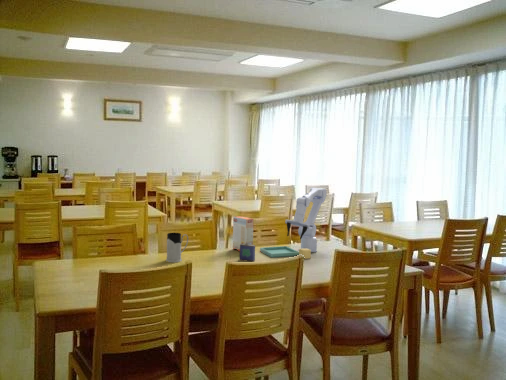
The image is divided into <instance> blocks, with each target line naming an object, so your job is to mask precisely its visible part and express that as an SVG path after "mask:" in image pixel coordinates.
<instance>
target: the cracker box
mask: <svg viewBox="0 0 506 380" xmlns="http://www.w3.org/2000/svg"><path fill="white" fill-rule="evenodd" d="M232 220H233V222H232V223H233V227H232V230H233V231H232V233H233V234H232V250H234V249H237V250H238V251H237V250H236V251H237V252H240V244H243V243H245V244H246V242H249V244H248V245H254V218H251V217H247V216H242V215H241V216H240V215H239V216H233V219H232Z"/></svg>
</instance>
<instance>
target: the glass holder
mask: <svg viewBox="0 0 506 380" xmlns="http://www.w3.org/2000/svg"><path fill="white" fill-rule="evenodd" d="M185 236H186V243H185V246H184V247H183V248H182V243H183V238H184V237H185ZM188 243H189V236H188V234H183V235H182V234H181V233H180V232H169V233H167V235H166V259H165V261H166V262H167V261H168V262H167V263H180V262H182V253H183V252H184V250H185V249H186V248H187V246H188Z"/></svg>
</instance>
